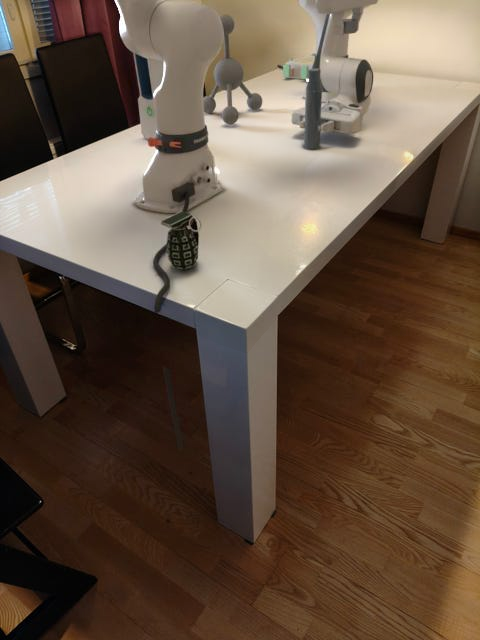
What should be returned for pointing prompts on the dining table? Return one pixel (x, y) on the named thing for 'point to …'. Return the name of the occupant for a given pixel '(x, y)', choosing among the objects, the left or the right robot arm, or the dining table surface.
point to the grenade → (182, 240)
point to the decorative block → (298, 67)
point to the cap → (350, 25)
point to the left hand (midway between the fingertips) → (346, 33)
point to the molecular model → (229, 80)
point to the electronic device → (148, 92)
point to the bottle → (313, 110)
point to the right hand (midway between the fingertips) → (310, 127)
